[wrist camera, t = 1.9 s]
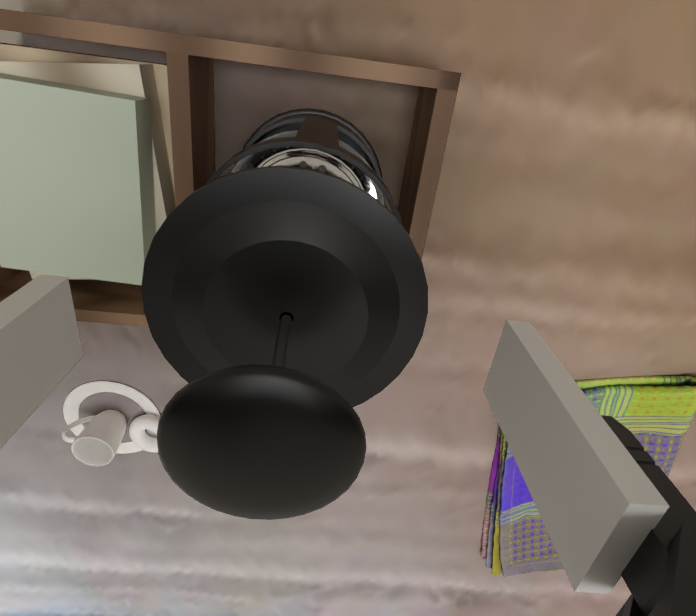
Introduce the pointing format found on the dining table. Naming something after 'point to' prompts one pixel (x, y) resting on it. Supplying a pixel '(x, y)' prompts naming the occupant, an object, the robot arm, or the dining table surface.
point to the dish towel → (609, 400)
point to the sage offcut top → (75, 180)
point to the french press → (281, 317)
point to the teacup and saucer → (108, 425)
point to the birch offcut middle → (116, 80)
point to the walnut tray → (198, 131)
